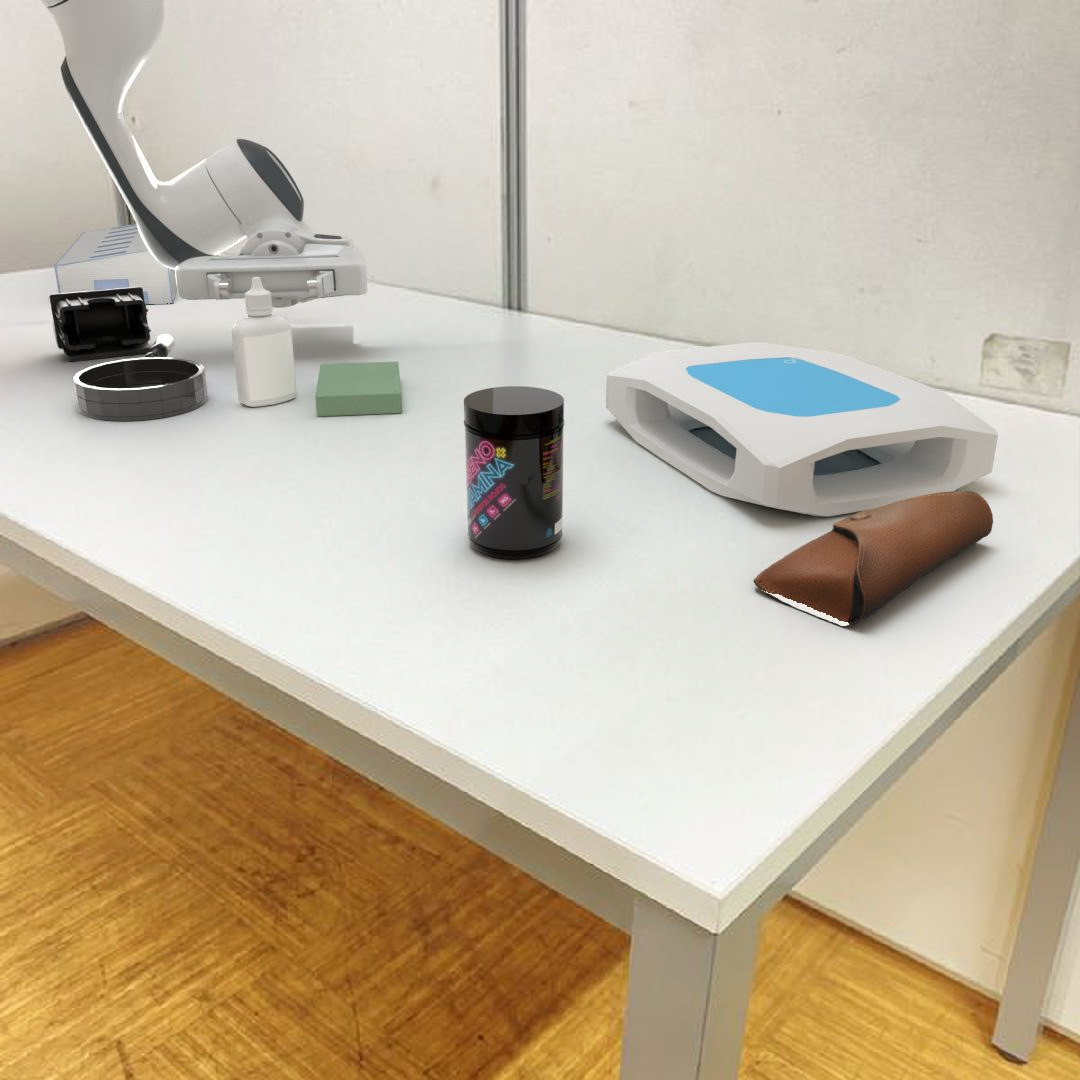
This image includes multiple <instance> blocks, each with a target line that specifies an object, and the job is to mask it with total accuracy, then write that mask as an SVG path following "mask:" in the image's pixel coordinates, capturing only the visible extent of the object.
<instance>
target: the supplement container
mask: <svg viewBox="0 0 1080 1080" xmlns="http://www.w3.org/2000/svg"><path fill="white" fill-rule="evenodd" d="M463 426H464V438H465V439H464V442H465V443H464V444H465V448H464V449H465V480H466V481H465V482H466V518H467V519H466V520H467V538H468V539H469V542H470V544H471V546H472V547H474V549H476V550H477V551H478V552H479V553H480V554H483V555H485V556H488V557H490V558H491V557H492V558H496V559H502V560H527V559H528V560H529V559H534V558H538V557H542V556H544V555H546V554H549V553H550V552H552V551H553V550H554V549H556V547H558V545H559V544H560V542H561V540H562V538H563V522H564V521H563V517H564V516H563V515H564V514H563V513H564V512H563V511H564V509H563V508H564V507H563V506H564V505H563V503H564V497H563V495H564V491H563V490H564V426H565V398H564V396H563V395H561V394H560V393H558V392H555V391H553V390H551V389H546V388H541V387H535V386H524V385H523V386H522V385H521V386H520V385H519V386H517V385H511V386H510V385H507V386H495V387H489V388H483V389H479V390H476V391H473V392H471V393H469V394H467V395H466V396H465V397H464V398H463Z"/></svg>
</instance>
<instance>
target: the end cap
mask: <svg viewBox="0 0 1080 1080" xmlns="http://www.w3.org/2000/svg"><path fill="white" fill-rule="evenodd" d="M48 306H49V312H50V318H51V323H52V329H53V334H54V338H55V341H56V346H57V348H58V349H60V350H62V352H63V355H64V356H65V359H66V360H67V361H68V362H80V360H82V361H90V360H96V359H97V360H98V359H99V360H100V359H108V358H117V357H125V356H127V357H128V356H135V355H136V356H137V355H145V354H144V353H146V354H147V352H148V351H149V350H150V348H151V347H152V345H150V344H149V341H150V339H151V332H152V329H151V328H150V326H149V323H148V317H147V316H148V312H149V308H148V307H147V305H146V304H145V301H144V294H143V289H142V288H141V287H130V288H118V289H106V290H95V291H83V292H71V293H59V292H58V293H51V294H49V295H48Z"/></svg>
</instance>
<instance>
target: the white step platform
mask: <svg viewBox="0 0 1080 1080" xmlns="http://www.w3.org/2000/svg"><path fill="white" fill-rule="evenodd" d="M605 389H606V391H605V392H606V393H605V408H606V410H608V412H609V413H610V414H611V415H612V416H613V417H614V419H616V421H617V422H618V423H619V424H620V426H622V428H623V429H624V430H625V432H627V433H628V434H629V435H630V437H631V438H632V439H633V440H634V441H635V442H636V443H637V444H639V445H640V446H642V447H644V448H645V449H646V450H648V451H649V452H651V453H652V454H654V455H656V456H657V457H658V458H660V459H662V460H663V461H665V462H666V463H668V464H669V465H671V466H672V467H673V468H675V469H677V470H678V471H680V472H682V473H683V474H684V475H686V476H688V477H689V478H691V479H692V480H694V481H695V482H696V483H699V484H700V485H701V486H702V487H704V488H706V489H708V490H709V491H710V492H713V493H715V494H717V495H719V496H722V497H726V498H730V499H734V500H738V501H742V502H746V503H750V504H754V505H759V506H764V507H768V508H773V509H777V510H783V511H786V512H787V511H788V512H793V513H798V514H802V515H809V516H814V517H834V516H839V515H845V514H851V513H858V512H862V511H865V510H869V509H874V508H878V507H881V506H884V505H887V504H891V503H893V502H897V501H900V500H904V499H908V498H913V497H917V496H921V495H927V494H933V493H941V492H951V491H957V490H959V489H960V488H962V487H964V486H966V485H969V484H971V483H973V482H975V481H976V480H978V479H981V478H983V477H985V476H987V475H989V474H991V473H993V468H994V461H995V455H996V449H997V444H998V437H999V434H998V430H997V429H995V428H994V427H993V426H991V425H990V424H988V423H987V422H986V421H984V420H983V419H981V418H980V417H979V416H978V415H976V414H974V413H973V412H972V411H971V410H969V409H968V408H967V407H965V406H964V405H962V404H961V403H960V402H958V401H957V400H955V399H954V398H953V397H951V396H950V395H949V394H948V393H946V392H944V391H942V390H939V389H936V388H934V387H932V386H929V385H927V384H924V383H921V382H918V381H916V380H913V379H911V378H908V377H906V376H903V375H900V374H898V373H895V372H892V371H889V370H887V369H884V368H881V367H878V366H876V365H874V364H870V363H868V362H866V361H863V360H860V359H858V358H855V357H853V356H849V355H847V354H843V353H839V352H833V351H827V350H821V349H820V350H819V349H813V348H806V347H798V346H791V345H783V344H777V343H770V342H763V341H762V342H761V341H754V342H753V341H752V342H742V343H730V344H720V345H712V346H700V347H693V348H682V349H672V350H663V351H655V352H653V353H650V354H648V355H646V356H643V357H640V358H638V359H636V360H633V361H631V362H628V363H626V364H624V365H622V366H619V367H617V368H615V369H612V370H609V371H608V373H607V374H606V388H605ZM707 427H709V428H711V429H712V430H713V431H715V432H716V433H717V434H719V436H721V437H722V438H723V439H724V440H726V441H727V442H728V443H729V444H731V445H732V447H734V448H735V449H736V451H735V458H733V457H731V456H730V455H727V454H726V453H725V452H723V451H721V450H720V449H718V448H716V447H714V446H713V445H711V444H709V443H708V442H706V441H704V440H703V439H701V438H699V437H698V436H696V435H695V434H693V432H690V431H692V430H694V429H701V428H707ZM854 450H858V451H860V452H862V453H863V454H865V455H867V456H868V457H870V458H872V459H873V460H875V461H876V462H878V463H879V464H878V463H877V464H875V465H871V466H866V467H864V468H859V469H853V470H846V471H840V472H834V473H828V474H818V475H817V474H816V475H814V474H815V473H814V472H815V464H816V462H819V461H821V460H824V459H826V458H830V457H832V456H836V455H839V454H841V453H844V452H847V451H848V452H849V451H854Z"/></svg>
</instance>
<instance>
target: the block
mask: <svg viewBox="0 0 1080 1080" xmlns="http://www.w3.org/2000/svg"><path fill="white" fill-rule="evenodd" d="M316 385H317V386H316V392H315V406H316V417H338V416H339V417H342V416H364V415H365V416H366V415H391V414H403V401H402V400H403V398H402V397H403V396H402V388H401V387H402V385H401V377H400V365H399V361H373V362H371V361H370V362H368V361H367V362H342V363H341V362H340V363H320V364H319V372H318V378H317V384H316Z"/></svg>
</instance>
